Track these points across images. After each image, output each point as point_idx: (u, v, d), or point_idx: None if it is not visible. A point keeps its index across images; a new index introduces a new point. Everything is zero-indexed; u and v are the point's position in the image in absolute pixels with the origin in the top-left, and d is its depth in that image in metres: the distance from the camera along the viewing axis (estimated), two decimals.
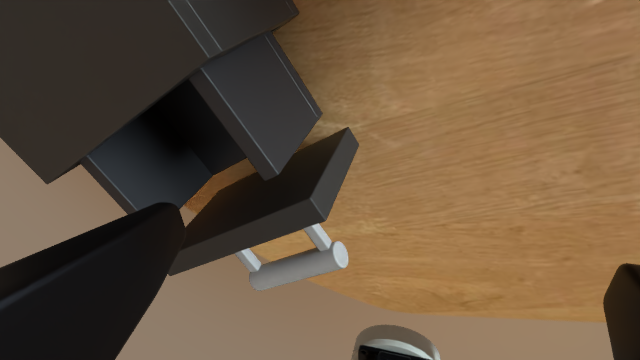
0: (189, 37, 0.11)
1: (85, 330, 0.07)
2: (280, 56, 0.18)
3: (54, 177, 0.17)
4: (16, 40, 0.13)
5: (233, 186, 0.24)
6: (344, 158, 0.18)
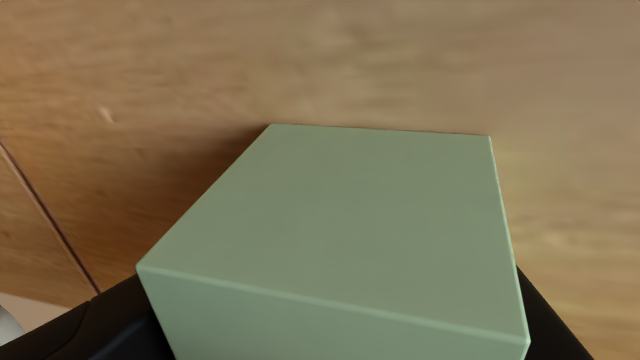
0: None
1: None
2: None
3: None
4: None
5: None
6: None
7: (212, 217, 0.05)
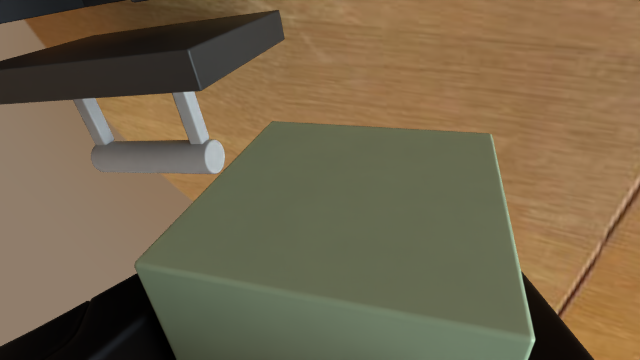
0: None
1: None
2: None
3: None
4: None
5: (111, 34, 0.18)
6: (258, 39, 0.14)
7: (213, 215, 0.05)
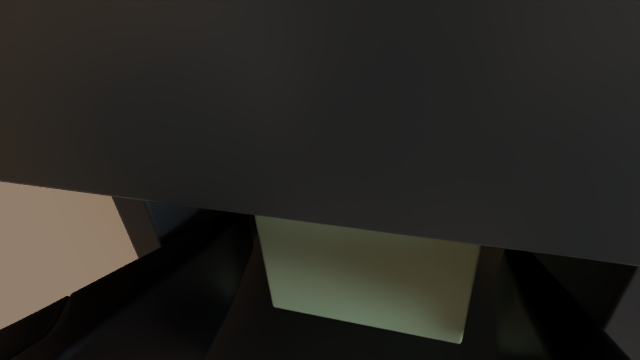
0: None
1: (169, 352, 0.06)
2: None
3: (11, 181, 0.06)
4: None
5: None
6: None
7: None
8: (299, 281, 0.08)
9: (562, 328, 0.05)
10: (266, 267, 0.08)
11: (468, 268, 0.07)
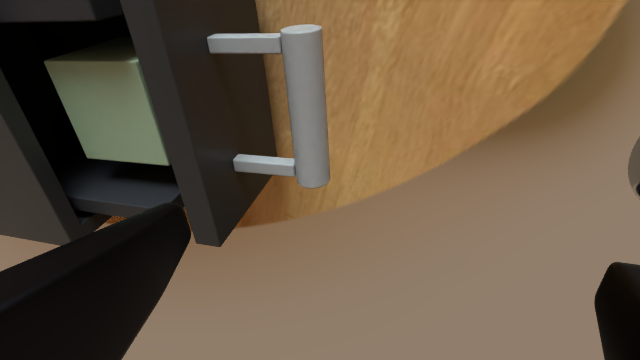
0: None
1: (90, 332, 0.07)
2: None
3: (65, 233, 0.17)
4: None
5: None
6: None
7: None
8: (140, 147, 0.16)
9: None
10: (141, 162, 0.16)
11: (87, 64, 0.14)
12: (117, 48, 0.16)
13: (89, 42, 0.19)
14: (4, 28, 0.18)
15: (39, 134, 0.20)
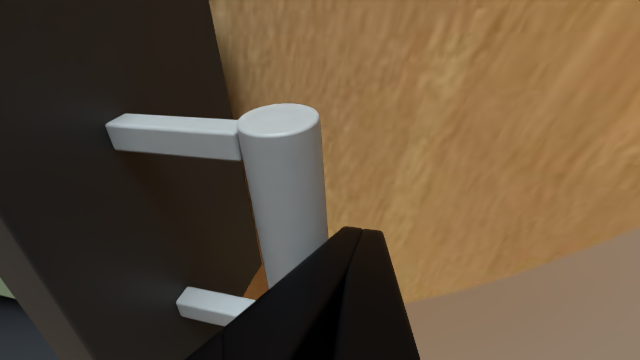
0: None
1: None
2: None
3: None
4: None
5: None
6: None
7: None
8: None
9: (363, 292, 0.06)
10: None
11: None
12: None
13: None
14: None
15: None
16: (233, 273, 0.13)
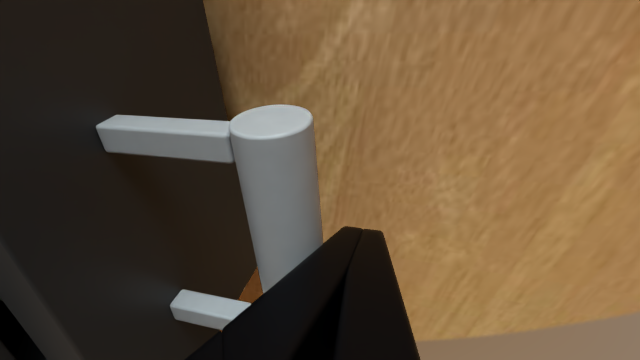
0: None
1: None
2: None
3: None
4: None
5: None
6: None
7: None
8: None
9: (364, 292, 0.06)
10: None
11: None
12: None
13: None
14: None
15: None
16: (229, 275, 0.13)
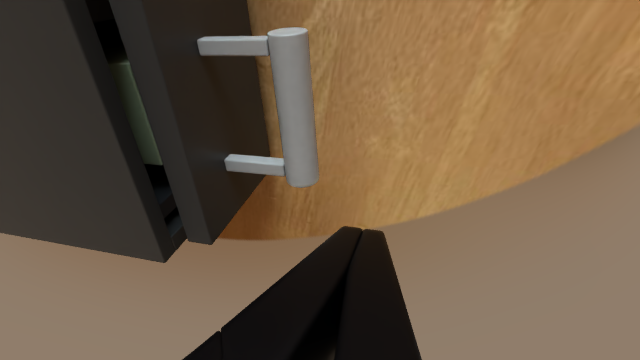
0: None
1: None
2: None
3: (158, 248, 0.16)
4: (33, 148, 0.15)
5: None
6: None
7: None
8: None
9: (365, 292, 0.06)
10: None
11: None
12: (112, 50, 0.16)
13: None
14: None
15: None
16: None
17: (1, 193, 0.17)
